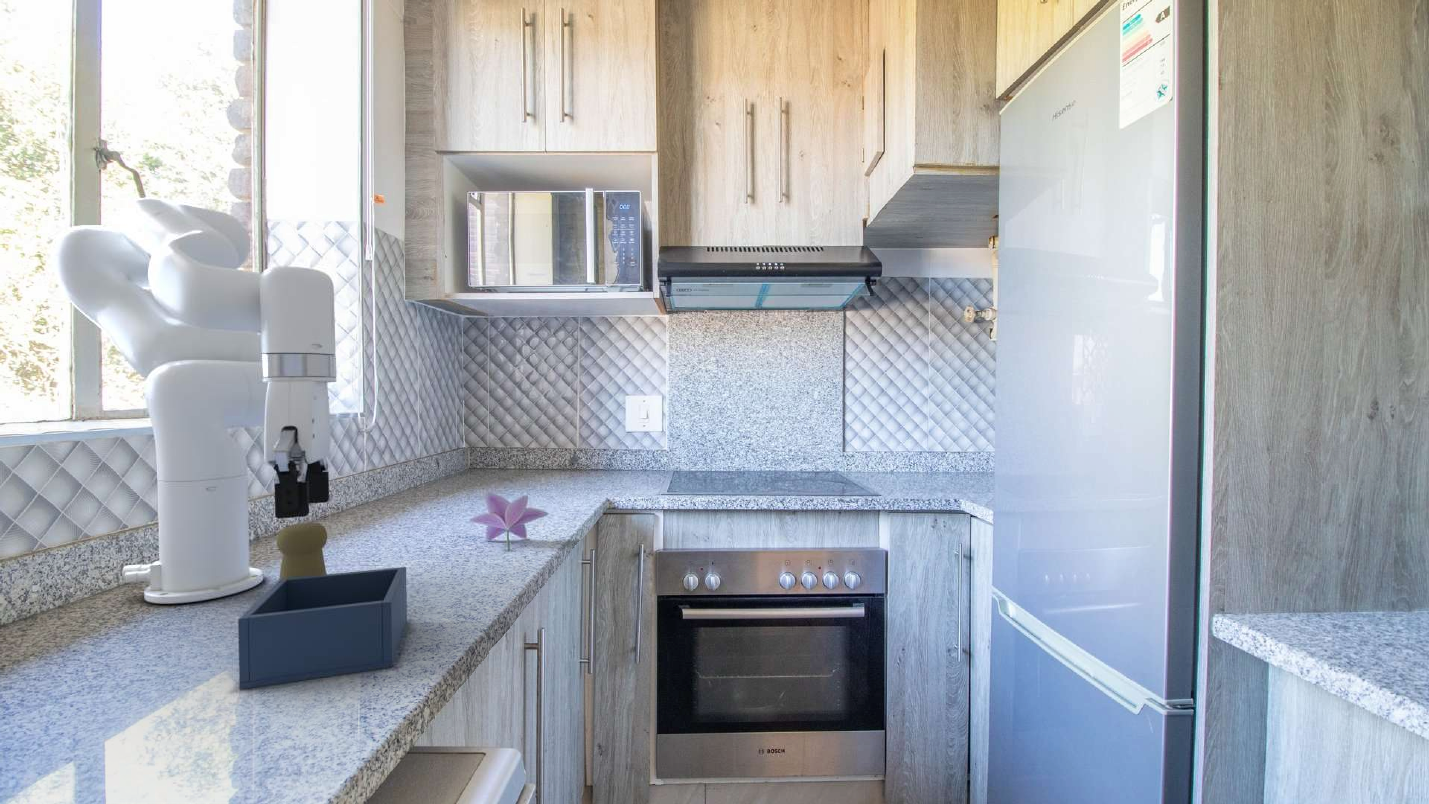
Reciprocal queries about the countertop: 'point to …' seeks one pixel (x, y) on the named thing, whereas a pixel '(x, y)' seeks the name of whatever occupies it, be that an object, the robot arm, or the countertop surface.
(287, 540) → the cork
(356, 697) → the countertop surface
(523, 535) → the lily
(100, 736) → the countertop surface
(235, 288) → the robot arm
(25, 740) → the countertop surface
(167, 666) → the countertop surface
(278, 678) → the bin
